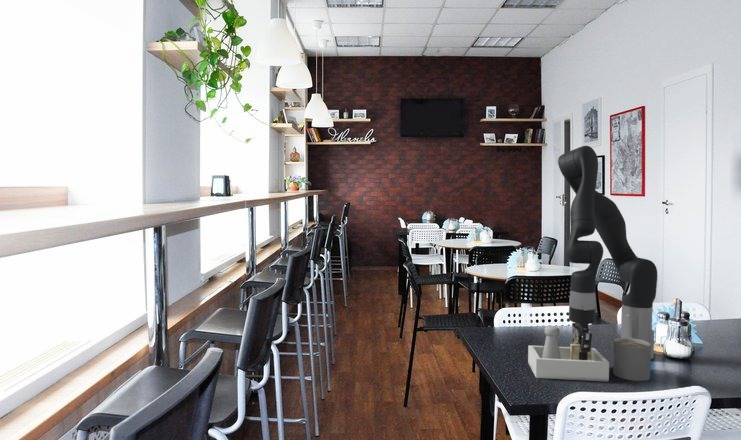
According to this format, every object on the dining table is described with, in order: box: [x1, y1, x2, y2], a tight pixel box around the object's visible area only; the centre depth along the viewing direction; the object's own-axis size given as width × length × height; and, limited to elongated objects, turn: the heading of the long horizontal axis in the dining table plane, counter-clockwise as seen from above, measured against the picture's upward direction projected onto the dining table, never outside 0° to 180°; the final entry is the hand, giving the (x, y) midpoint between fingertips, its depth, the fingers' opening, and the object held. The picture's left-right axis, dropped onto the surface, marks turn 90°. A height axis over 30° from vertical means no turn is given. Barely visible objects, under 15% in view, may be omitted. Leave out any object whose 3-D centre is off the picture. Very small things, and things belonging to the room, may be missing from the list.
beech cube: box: [569, 343, 592, 360], centre depth 161 cm, size 5×5×5 cm
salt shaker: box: [542, 325, 561, 359], centre depth 162 cm, size 6×6×13 cm
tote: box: [527, 345, 610, 382], centre depth 161 cm, size 20×14×6 cm
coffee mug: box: [612, 337, 652, 382], centre depth 160 cm, size 13×10×10 cm
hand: (580, 360), depth 161 cm, fingers closed on beech cube, 5 cm apart
